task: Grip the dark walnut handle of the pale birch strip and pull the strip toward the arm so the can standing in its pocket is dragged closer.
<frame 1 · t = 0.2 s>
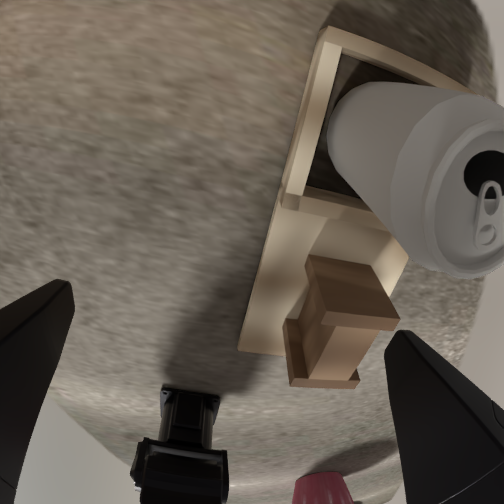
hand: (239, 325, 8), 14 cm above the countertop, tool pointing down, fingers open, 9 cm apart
can: (376, 135, 19), resting in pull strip
plant pot: (318, 478, 49), on the countertop
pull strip: (361, 255, 19), point 4 cm above the countertop, slide at 0.0 cm
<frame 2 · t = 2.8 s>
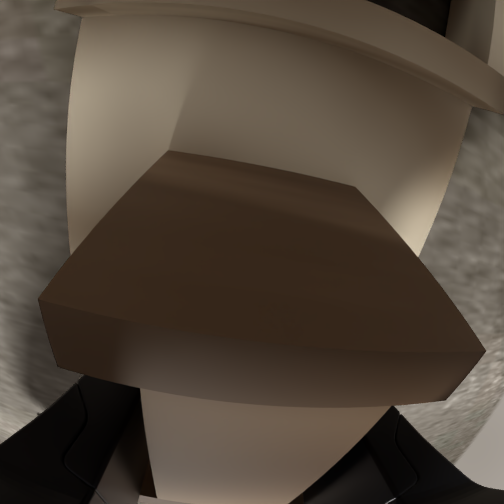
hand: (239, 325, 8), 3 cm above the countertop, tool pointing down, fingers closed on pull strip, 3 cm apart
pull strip: (301, 93, 5), point 4 cm above the countertop, slide at 0.0 cm, touching gripper
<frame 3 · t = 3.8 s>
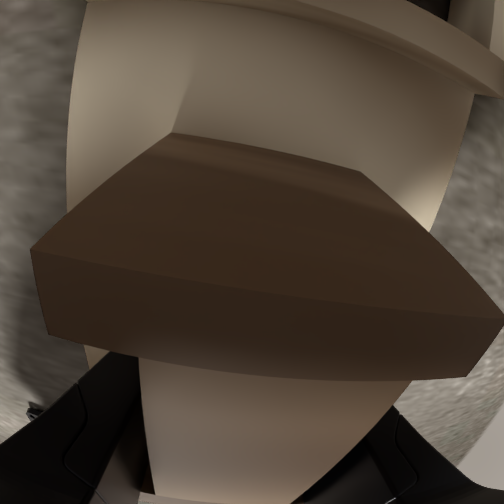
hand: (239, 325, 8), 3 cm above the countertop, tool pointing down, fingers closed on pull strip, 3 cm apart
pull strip: (308, 67, 5), point 4 cm above the countertop, slide at 1.3 cm, touching can, gripper
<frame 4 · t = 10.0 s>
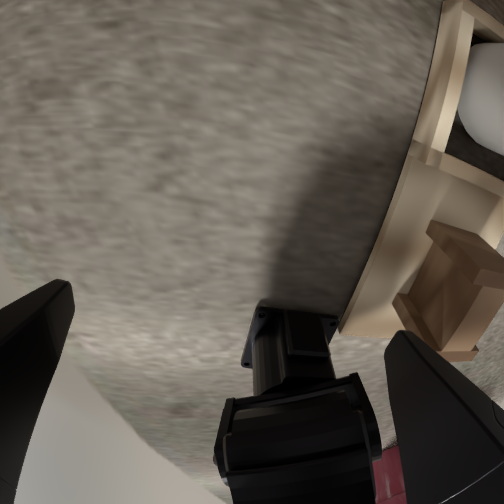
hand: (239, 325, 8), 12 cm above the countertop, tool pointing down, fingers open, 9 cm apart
can: (484, 94, 15), resting in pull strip
plant pot: (392, 454, 41), on the countertop
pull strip: (488, 217, 16), point 4 cm above the countertop, slide at 9.9 cm
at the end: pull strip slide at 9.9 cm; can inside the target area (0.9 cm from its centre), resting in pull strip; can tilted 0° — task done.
